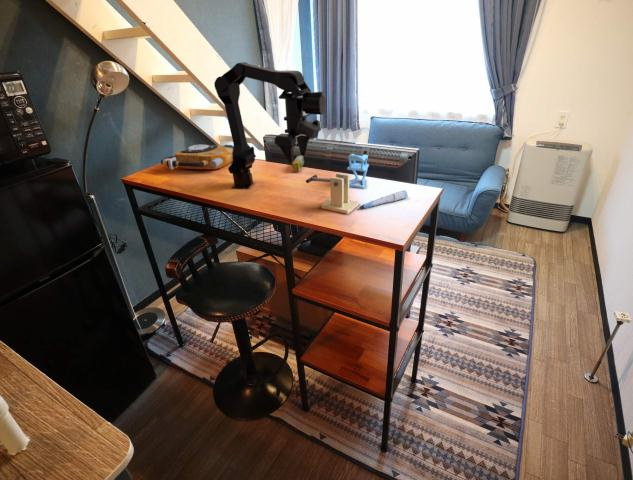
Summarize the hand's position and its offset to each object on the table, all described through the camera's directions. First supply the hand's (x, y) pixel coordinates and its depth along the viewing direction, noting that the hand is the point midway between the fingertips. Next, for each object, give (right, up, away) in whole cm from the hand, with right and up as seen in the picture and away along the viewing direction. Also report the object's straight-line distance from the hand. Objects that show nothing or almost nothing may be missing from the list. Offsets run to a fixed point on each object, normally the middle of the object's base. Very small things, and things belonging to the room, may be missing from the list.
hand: (297, 159), depth 122 cm
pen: (+30, -16, -5) cm, 35 cm away
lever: (+10, -10, -7) cm, 16 cm away
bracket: (+15, -17, -6) cm, 23 cm away
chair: (+23, -7, +12) cm, 27 cm away
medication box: (-1, +3, +31) cm, 31 cm away
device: (-46, +5, +38) cm, 60 cm away
